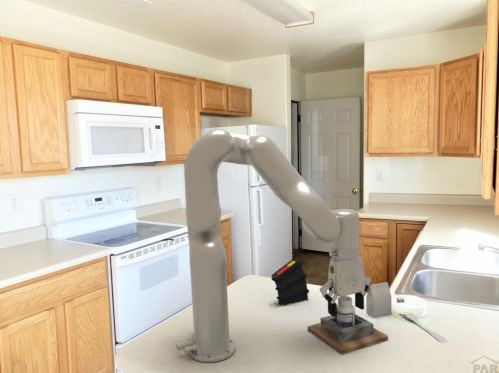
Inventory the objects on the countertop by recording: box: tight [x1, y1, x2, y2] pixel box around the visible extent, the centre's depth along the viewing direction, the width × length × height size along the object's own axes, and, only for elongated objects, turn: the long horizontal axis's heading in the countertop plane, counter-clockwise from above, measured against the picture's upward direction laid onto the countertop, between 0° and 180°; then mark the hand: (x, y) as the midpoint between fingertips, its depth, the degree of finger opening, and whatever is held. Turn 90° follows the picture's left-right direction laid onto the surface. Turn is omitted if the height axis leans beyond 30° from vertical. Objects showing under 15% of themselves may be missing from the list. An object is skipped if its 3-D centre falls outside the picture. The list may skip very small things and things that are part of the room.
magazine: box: [270, 257, 310, 306], centre depth 140 cm, size 4×13×15 cm, turn 117°
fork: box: [403, 312, 449, 344], centre depth 118 cm, size 3×21×3 cm, turn 15°
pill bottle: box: [336, 295, 356, 328], centre depth 114 cm, size 5×5×10 cm
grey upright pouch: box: [365, 281, 392, 319], centre depth 127 cm, size 4×7×10 cm, turn 109°
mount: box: [307, 313, 389, 356], centre depth 114 cm, size 16×16×4 cm
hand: (346, 311), depth 114 cm, fingers open, 9 cm apart
